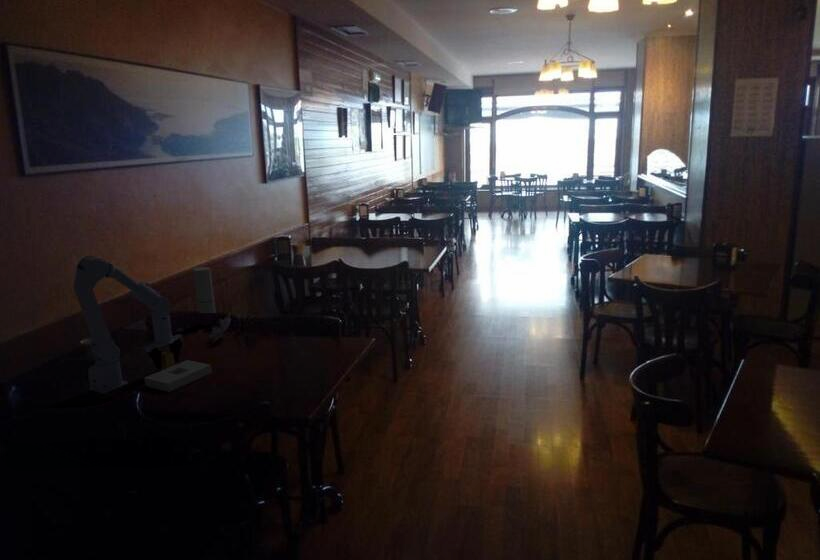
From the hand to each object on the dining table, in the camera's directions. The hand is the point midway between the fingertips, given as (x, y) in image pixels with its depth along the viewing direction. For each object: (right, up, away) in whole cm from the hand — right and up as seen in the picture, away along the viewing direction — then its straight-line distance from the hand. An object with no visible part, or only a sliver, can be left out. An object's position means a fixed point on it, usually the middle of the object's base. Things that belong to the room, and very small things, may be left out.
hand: (167, 364), depth 222 cm
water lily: (+10, +6, +32) cm, 34 cm away
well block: (+8, -4, -10) cm, 13 cm away
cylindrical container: (-3, +11, +54) cm, 55 cm away
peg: (0, -2, 0) cm, 2 cm away
